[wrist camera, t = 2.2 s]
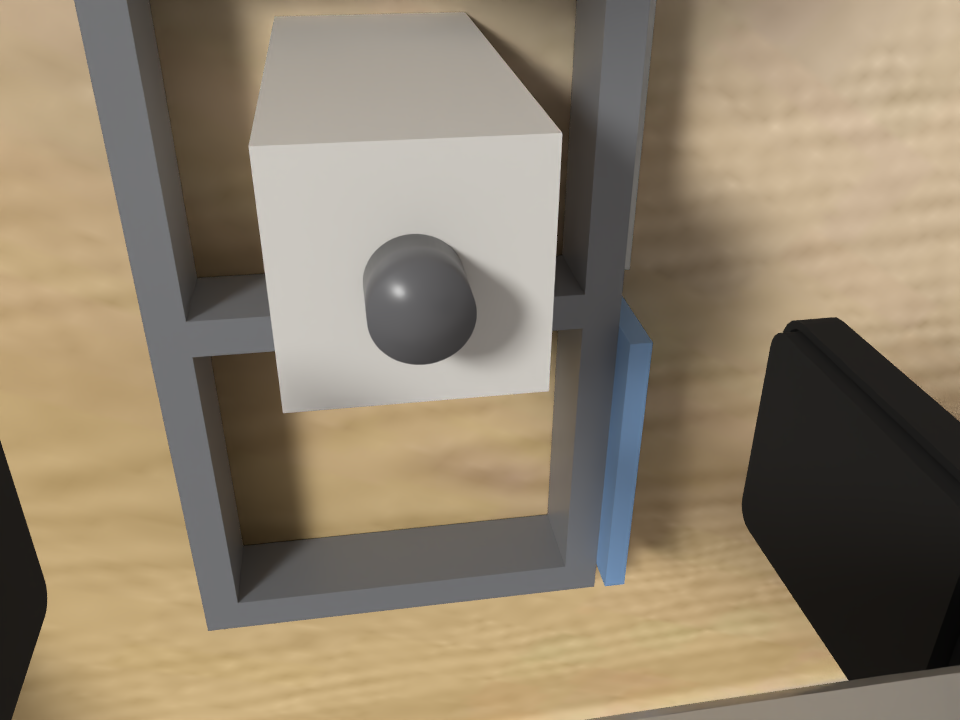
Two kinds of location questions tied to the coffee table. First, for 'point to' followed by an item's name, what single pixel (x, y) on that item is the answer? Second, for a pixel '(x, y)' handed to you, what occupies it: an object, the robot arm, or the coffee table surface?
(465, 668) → the coffee table surface
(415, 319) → the plug
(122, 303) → the coffee table surface
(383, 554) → the divided sorting tray
